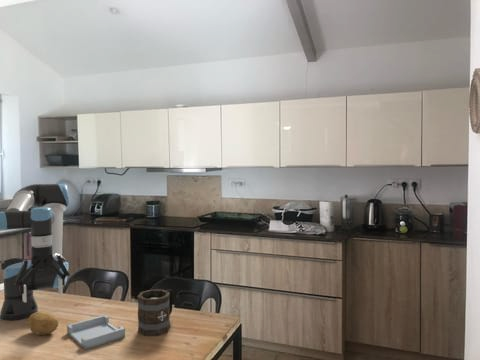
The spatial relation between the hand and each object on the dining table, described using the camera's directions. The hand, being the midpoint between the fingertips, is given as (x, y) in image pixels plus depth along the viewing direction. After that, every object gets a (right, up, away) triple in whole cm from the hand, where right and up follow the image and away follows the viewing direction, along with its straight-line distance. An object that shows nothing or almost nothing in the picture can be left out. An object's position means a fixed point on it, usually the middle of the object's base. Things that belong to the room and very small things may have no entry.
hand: (43, 297), depth 159 cm
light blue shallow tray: (+22, -15, -1) cm, 27 cm away
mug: (+45, -15, +7) cm, 48 cm away
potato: (0, -15, +1) cm, 15 cm away
